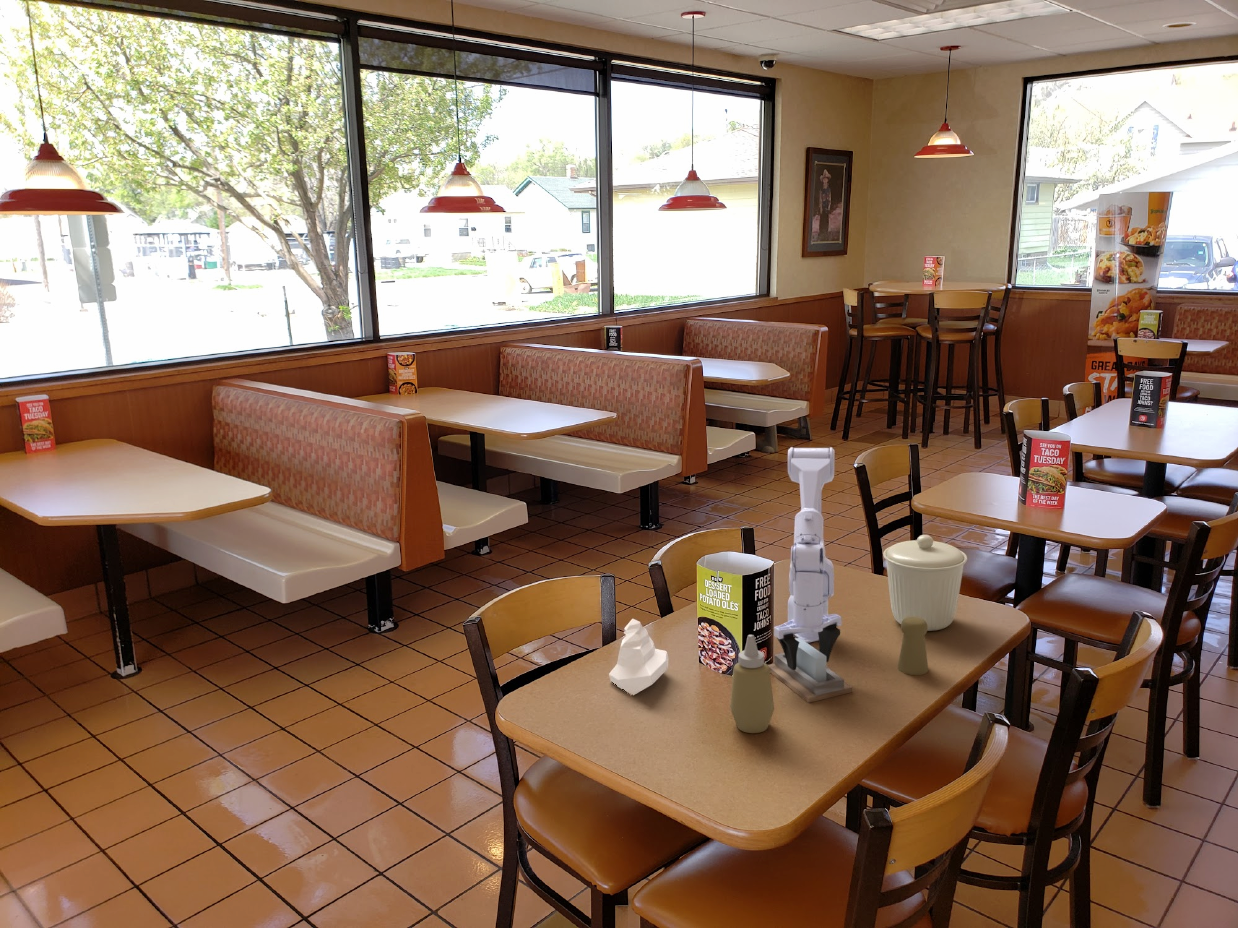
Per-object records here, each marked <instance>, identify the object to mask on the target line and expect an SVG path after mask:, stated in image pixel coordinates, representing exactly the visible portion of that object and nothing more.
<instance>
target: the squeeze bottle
mask: <svg viewBox="0 0 1238 928" xmlns="http://www.w3.org/2000/svg"><path fill="white" fill-rule="evenodd" d="M764 654H765V653H764V652H763V651H761V650H758V645H757V642H756V638H755V635H754V634H748V635H747V638H746V643H745V646H744V650H742V651H739V653H738V655H737V656H738V659H737V660H738V662H737V663H735V664H734V666H733V670H732V682H731V693H730V705H729V709H730V711H731V715H732V717H733V720H734V722H735V724H736V728H737V729H739V730H740V731H741V732H744V733H749V734H759V733H762V732H765V731H767V729H768V727H769V725H770V722H771V720H772V717H773V714H774V711H775V704H774V703H775V702H774V695H773V688H772V680H771V679H772V678H771V673H770V669H769V666H768V665H769V664H767V663H766V662H765V655H764Z"/></svg>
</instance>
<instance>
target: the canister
mask: <svg viewBox="0 0 1238 928" xmlns="http://www.w3.org/2000/svg"><path fill="white" fill-rule="evenodd" d="M882 555H883V558H884V559H885V560H886V570H887V571H886V572H887V583H888V590H889V591H888V593H889V601H890V606H891V612H892V613H891V614H892V615H893V618H894V619H895V620H896V622H897V623H898V624H900V625H901V623H902V621H903V619H904V618H907V617H912V616H913V617H920V618H922V619H924V620H925V621H926V623H927V632H930V631H931V632H932V631H933V632H934V631H938V630H939V631H940V630H943V629H945V628H947V627H948V626H950V625H951V624H952V623H953V621H954V619H955V615H956V613H957V607H958V602H959V597H960V596H959V595H960V590H961V584H962V578H963V573H964V572H963V571H964V565H965V564H966V563H967V561H968V556H967V554H966V553H965V552H963V551H962V550H960V549H959V548H958V547H956V546H953V545H951V544H949V543H946V542H941V541H935V540H934V538H933V537H932V536H930V535H928V534H921V535H919V536H918V537H917V539H915V540H906V541H905V540H904V541H901V542H897V543H895V544H893V545H891V546H888V547H887V548H885V550H884V551H883V554H882Z"/></svg>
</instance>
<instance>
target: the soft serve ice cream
mask: <svg viewBox="0 0 1238 928" xmlns="http://www.w3.org/2000/svg"><path fill="white" fill-rule="evenodd" d="M623 630H624V631H623V634H625V636H624V637H623V639H622V640H621V643H620V648H619V652H618V657H617V663H616V664H615V665H614V667H613V668H612V669H611V671H610V672H609V673H608V676H609V681H610V682H611V681H612V682H613V683H614V684H613V683H612V684H613V685H615V684H616V685H617V686H616V685H615V686H616V687H618V688H619V689H621V690H622V689H624V690H625V691H627V692H629V693H631V694H633V696H635V695H636V694H638V693H640V692H641V691H643V690H645V689H647V688H649V687H650V686H652V685H653V684H654V683H655V682H656V681H657V680H658V679H659V678H660V677H661V676H662V675H663V674H664V673H665V672H666V671H667V670H668V668H669V661H670V660H669V655H668V651H667V650H662V649H658V648H656V647H655V642H654V640H652V637H650V636H649V633H648V630H647V628H646V627H644V626H642V622H641V621H639V620H637V619H634V618H632V619H631V620H630V621H629V622H628V624H626V626H625V627H624V628H623ZM624 690H623V691H624ZM625 691H624V692H625Z"/></svg>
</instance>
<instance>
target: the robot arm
mask: <svg viewBox="0 0 1238 928" xmlns="http://www.w3.org/2000/svg"><path fill="white" fill-rule="evenodd" d="M835 463H836V462H835V449H834V448H833V447H793V446H791V447H790V448H788V450H787V474H788V477H789V479H790V481H791V482H794V483H797V484H799V494H800V495H799V496H800V508H801V509H800V511H799V512H797V513H796V514H795V516H794V527H793V528H794V530H793V545H791V548H790V564H789V576H788V590H789V591H788V593H789V594H790V596H789V598H788V600H787V622H784V623H782V624H780V625H776V626H774V627H773V630H774V631H773V635H774V637H775V638H776V639H777V640H778V643H779V644H780V646H781V648H782V651H783V653H784V654H785V657H786V660H787V665H788V667H789V668H791V669H792V670H796V666H797V649H798V645H799V642H798V641H797V640H796V638H800V639H802V640H803V641H805V642H806V643H808V644H809V643H812V642H818V643H819V649H818V651H819V652H821V653H822V654H824V655H825V656H826V663H829V661H830V656H831V653H832V651H833V648H834V645H835V643H836V642H837V639H838V638H839V637H840V635H841V629H840V628H838V627H841V626H842V616H840V615H839V614H837V613H831V614H829V598H832V597H833V596H834V595H835V594H834V593H835V571H834V564H833V562H832V561H831V560H830V559H828V558H827V557H826V548H825V541H824V521H825V520H824V516H823V515H822V491H823V488H824V485H826V484H828V483H830V482H833V479H834V478H835Z"/></svg>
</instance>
